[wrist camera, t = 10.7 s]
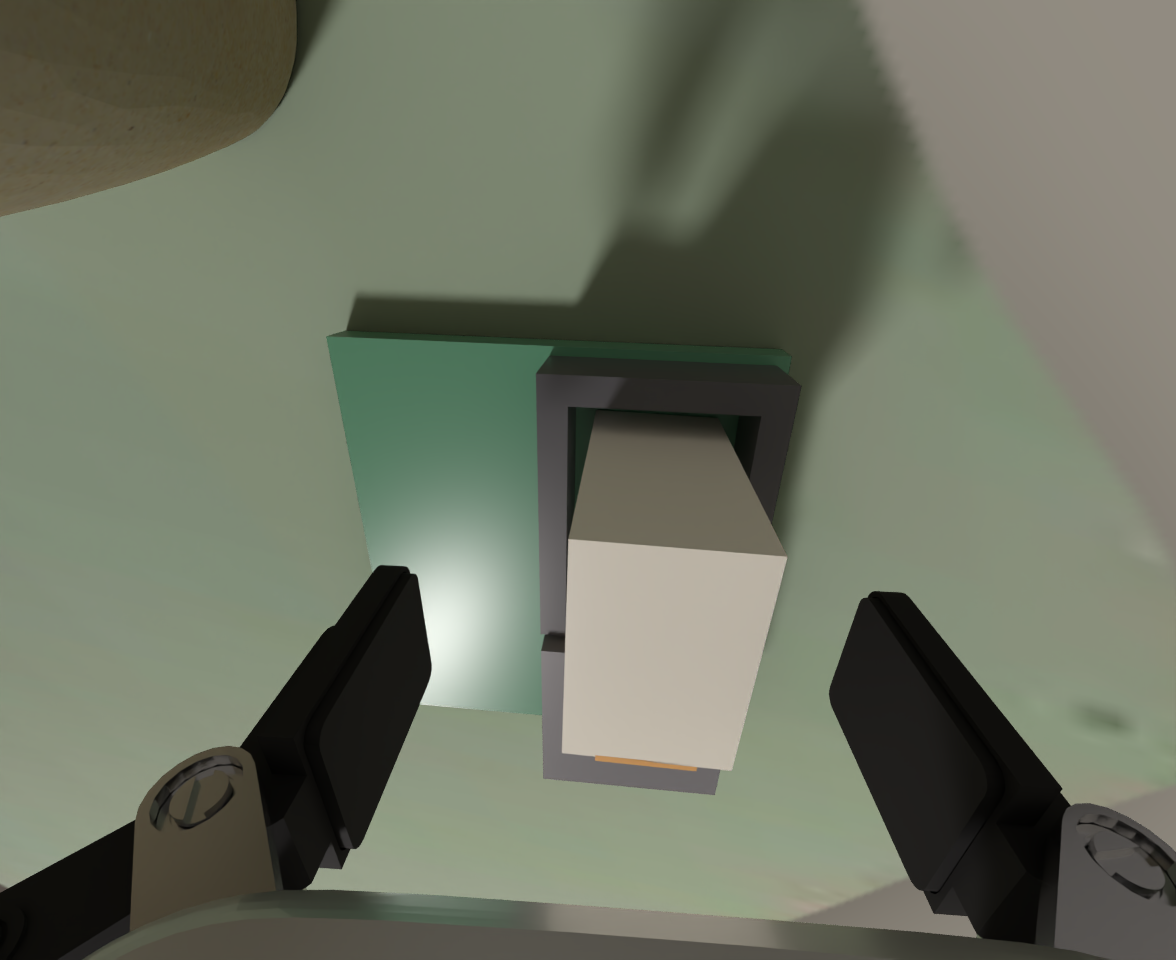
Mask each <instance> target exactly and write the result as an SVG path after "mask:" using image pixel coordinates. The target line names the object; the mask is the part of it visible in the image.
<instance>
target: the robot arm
mask: <svg viewBox="0 0 1176 960" xmlns="http://www.w3.org/2000/svg"><path fill="white" fill-rule="evenodd" d="M431 671H432V662H431V656H430V650H429V644H428V637H427V631H426V625H425V619H424V612H423V606H422V600H421V594H420V587H419V581H418V577H417V575H416V574H413V573H410V570H409V568H408V567H406V566H392V565H379V566H378V567H377V568H376V569H375V570H374V571H373V573H372V574H371V576H370V577H369V578H368V580H367V581H366V583H365V584H364V585H363V587H362V588H361V590H360V591H359V592H358V594H357V595H356V597H355V598H354V599H353V601H352V602H351V604H350V605H349V606H348V608H347V609H346V611H345V612H344V613H343V615H342V616H341V618H340V619H339V620H338V622H337V623H336V625H335V626H332V627H330V628H328V629H327V630H326V631H325V632H324V633H323V634H322V635H321V637H320V638H319V640H318V641H317V642H316V644H315V645H314V646H313V648H312V649H311V650H310V652H309V653H308V655H307V656H306V657H305V659H304V660H303V661H302V663H301V664H300V666H299V667H298V668H297V670H296V671H295V672H294V674H293V675H292V676H291V678H290V679H289V681H288V682H287V683H286V685H285V686H284V687H283V689H282V690H281V691H280V693H279V694H278V696H277V697H276V698H275V700H274V701H273V702H272V704H271V705H270V707H269V708H268V709H267V711H266V712H265V713H264V715H263V716H262V717H261V719H260V720H259V722H258V723H257V724H256V726H255V727H254V728H253V730H252V731H251V733H250V734H249V735H248V737H247V738H246V739H245V741H244V742H243V743H242V745H241V746H240V748H239V747H232V746H225V747H217V748H212V749H209V750H206V751H203V752H201V753H198V754H195V755H194V756H192V757H190V758H188V759H186V760H184V761H183V762H181V763H179V764H178V765H176V766H175V767H174V768H172V769H171V770H170V771H169V772H167V773H166V774H165V775H163V776H162V777H161V778H160V779H159V780H158V782H157V783H156V784H155V785H154V786H153V787H152V788H151V789H150V790H149V791H148V793H147V794H146V796H145V798H144V799H143V801H142V803H141V804H140V806H139V808H138V812H137V816H136V820H134V821H132V822H130V823H128V824H127V825H125V826H123V827H121V828H119V829H117V830H116V831H114V832H112V833H110V834H108V835H106V836H104V837H103V838H101V839H99V840H97V841H95V842H93V843H91V844H90V845H88V846H86V847H84V848H82V849H80V850H79V851H77V852H75V853H73V854H71V855H69V856H67V857H66V858H64V859H62V860H60V861H58V862H56V863H54V864H53V865H51V866H49V867H47V868H45V869H43V870H42V871H40V872H38V873H36V874H34V875H32V876H30V877H29V878H27V879H25V880H23V881H21V882H19V883H17V884H16V885H14V886H12V887H10V888H8V889H6V890H5V891H3V892H1V893H0V960H1176V852H1175V851H1174V850H1173V849H1172V848H1171V847H1170V846H1169V845H1168V844H1167V843H1165V842H1164V841H1163V840H1162V839H1160V838H1159V837H1158V836H1157V835H1155V834H1154V833H1153V832H1151V831H1150V830H1149V829H1147V828H1145V827H1144V826H1142V825H1141V824H1139V823H1137V822H1136V821H1134V820H1132V819H1131V818H1129V817H1127V816H1125V815H1123V814H1120V813H1118V812H1116V811H1114V810H1112V809H1109V808H1106V807H1102V806H1098V805H1094V804H1090V803H1082V804H1074V805H1072V806H1071V805H1070V804H1069V803H1068V802H1067V800H1066V799H1065V798H1064V797H1063V795H1062V794H1061V793H1060V792H1061V790H1062V787H1061V786H1060V785H1059V784H1058V782H1057V781H1056V780H1055V779H1054V777H1053V776H1052V775H1051V774H1050V772H1049V771H1048V770H1047V769H1046V767H1045V766H1044V765H1043V764H1042V762H1041V761H1040V760H1039V759H1038V757H1037V756H1036V755H1035V754H1034V752H1033V751H1032V750H1031V749H1030V747H1029V746H1028V745H1027V744H1026V742H1025V741H1024V740H1023V739H1022V737H1021V736H1020V735H1019V734H1018V732H1017V731H1016V730H1015V729H1014V727H1013V726H1012V725H1011V724H1010V722H1009V721H1008V720H1007V719H1006V717H1005V716H1004V715H1003V714H1002V712H1001V711H1000V710H999V709H998V707H997V706H996V705H995V704H994V702H993V701H992V700H991V699H990V697H989V696H988V695H987V694H986V692H985V691H984V690H983V689H982V687H981V686H980V685H979V684H978V682H977V681H976V680H975V679H974V677H973V676H972V675H971V674H970V672H969V671H968V670H967V669H966V667H965V666H964V665H963V664H962V663H961V661H960V660H959V659H958V658H957V656H956V655H955V654H954V653H953V651H952V650H951V649H950V648H949V646H948V645H947V644H946V643H945V641H944V640H943V639H942V638H941V636H940V635H939V634H938V633H937V631H936V630H935V629H934V628H933V626H932V625H931V624H930V623H929V621H928V620H927V619H926V618H925V616H924V615H923V614H922V613H921V611H920V610H919V609H918V608H917V606H916V605H915V604H914V603H913V601H912V600H911V599H910V598H909V597H908V596H907V595H906V594H904V593H899V592H880V591H874V592H872V593H870V594H869V596H868V598H863V599H862V600H861V601H860V603H859V606H858V609H857V612H856V614H855V617H854V620H853V623H852V626H851V629H850V631H849V634H848V637H847V640H846V643H845V646H844V649H843V651H842V654H841V657H840V660H839V663H838V666H837V669H836V671H835V674H834V677H833V680H832V683H831V686H830V690H829V697H830V703H831V706H832V708H833V711H834V713H835V715H836V717H837V719H838V722H839V724H840V726H841V728H842V730H843V733H844V735H845V737H846V739H847V741H848V744H849V746H850V748H851V750H852V753H853V755H854V757H855V759H856V761H857V764H858V766H859V768H860V770H861V772H862V775H863V777H864V779H865V781H866V783H867V786H868V788H869V790H870V792H871V794H872V797H873V799H874V801H875V803H876V805H877V808H878V810H879V812H880V814H881V816H882V819H883V821H884V823H885V825H886V828H887V830H888V832H889V834H890V836H891V839H892V841H893V843H894V845H895V847H896V850H897V852H898V854H899V856H900V858H901V861H902V863H903V865H904V867H905V869H906V872H907V874H908V876H909V878H910V880H911V882H912V883H913V884H914V886H915V887H916V888H917V889H919V890H922V891H924V894H925V896H926V898H927V900H928V902H929V904H930V906H931V909H932V911H933V913H934V914H946V915H960V916H968V918H969V920H970V922H971V924H972V925H973V927H974V929H975V931H976V933H977V937H976V938H971V937H962V936H952V935H942V934H932V933H923V932H911V931H899V930H887V929H875V928H863V927H850V926H838V925H826V924H813V923H801V922H789V921H777V920H765V919H752V918H739V917H726V916H713V915H700V914H687V913H674V912H661V911H647V910H634V909H621V908H608V907H594V906H581V905H567V904H553V903H539V902H525V901H510V900H496V899H482V898H468V897H454V896H439V895H424V894H404V893H384V892H364V891H344V890H307V889H306V887H307V886H308V885H310V884H311V883H312V881H313V879H314V877H315V875H316V873H317V870H318V868H332V869H342V867H343V865H344V862H345V860H346V858H347V856H348V853H349V851H350V849H357V848H358V847H359V846H360V844H361V843H362V841H363V839H364V837H365V834H366V832H367V830H368V827H369V825H370V822H371V820H372V818H373V815H374V813H375V810H376V808H377V806H378V803H379V801H380V798H381V796H382V794H383V791H384V789H385V786H386V784H387V782H388V779H389V777H390V774H391V772H392V770H393V767H394V765H395V762H396V760H397V758H398V755H399V753H400V750H401V748H402V746H403V743H404V741H405V738H406V736H407V734H408V731H409V729H410V726H411V724H412V722H413V719H414V717H415V714H416V712H417V710H418V707H419V705H420V702H421V700H422V698H423V695H424V693H425V690H426V688H427V686H428V683H429V680H430V677H431Z"/></svg>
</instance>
